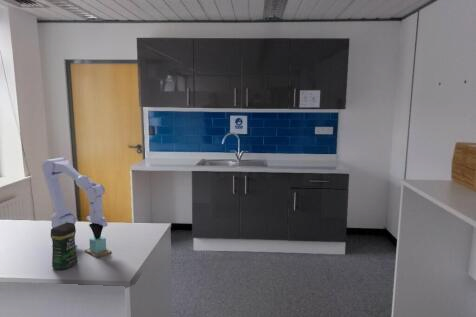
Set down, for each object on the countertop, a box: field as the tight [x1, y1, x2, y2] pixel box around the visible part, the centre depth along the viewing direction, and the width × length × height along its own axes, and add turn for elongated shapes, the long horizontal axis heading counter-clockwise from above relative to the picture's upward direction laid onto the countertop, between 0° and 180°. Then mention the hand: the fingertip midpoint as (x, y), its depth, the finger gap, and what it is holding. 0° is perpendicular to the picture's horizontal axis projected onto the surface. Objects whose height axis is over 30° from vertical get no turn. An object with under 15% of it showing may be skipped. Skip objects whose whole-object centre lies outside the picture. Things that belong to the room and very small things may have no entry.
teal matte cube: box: [89, 235, 107, 254], centre depth 155 cm, size 5×5×6 cm
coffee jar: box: [50, 222, 78, 271], centre depth 141 cm, size 10×8×19 cm
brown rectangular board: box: [84, 247, 112, 259], centre depth 155 cm, size 11×7×5 cm, turn 54°
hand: (97, 238), depth 155 cm, fingers closed
